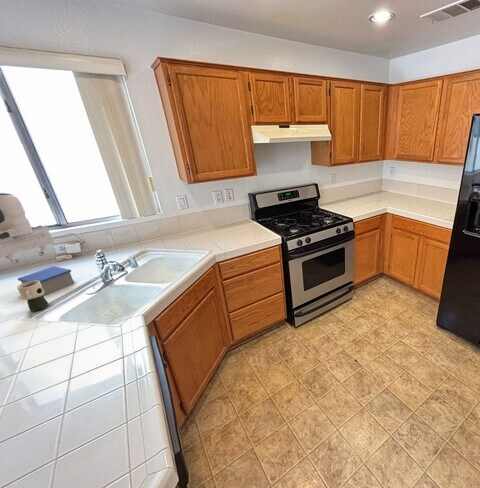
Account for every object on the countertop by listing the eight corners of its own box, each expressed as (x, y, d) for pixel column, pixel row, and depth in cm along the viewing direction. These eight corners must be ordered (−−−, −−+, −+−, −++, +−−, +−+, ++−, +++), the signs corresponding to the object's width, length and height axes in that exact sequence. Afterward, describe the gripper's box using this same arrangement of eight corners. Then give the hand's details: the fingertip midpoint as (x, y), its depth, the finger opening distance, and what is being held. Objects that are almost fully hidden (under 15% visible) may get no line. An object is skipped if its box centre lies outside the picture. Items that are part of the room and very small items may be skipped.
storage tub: (41, 296, 133) (34, 282, 130) (24, 292, 137) (17, 278, 134) (76, 282, 146) (70, 269, 143) (59, 279, 151) (53, 266, 148)
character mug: (47, 311, 121) (35, 286, 116) (25, 316, 117) (12, 291, 112) (53, 300, 129) (42, 277, 125) (33, 305, 125) (21, 281, 121)
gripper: (41, 223, 124) (52, 250, 128) (-22, 236, 105) (-7, 267, 110) (50, 224, 122) (61, 251, 127) (-11, 237, 104) (4, 269, 108)
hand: (29, 259), depth 118 cm, fingers open, 8 cm apart
